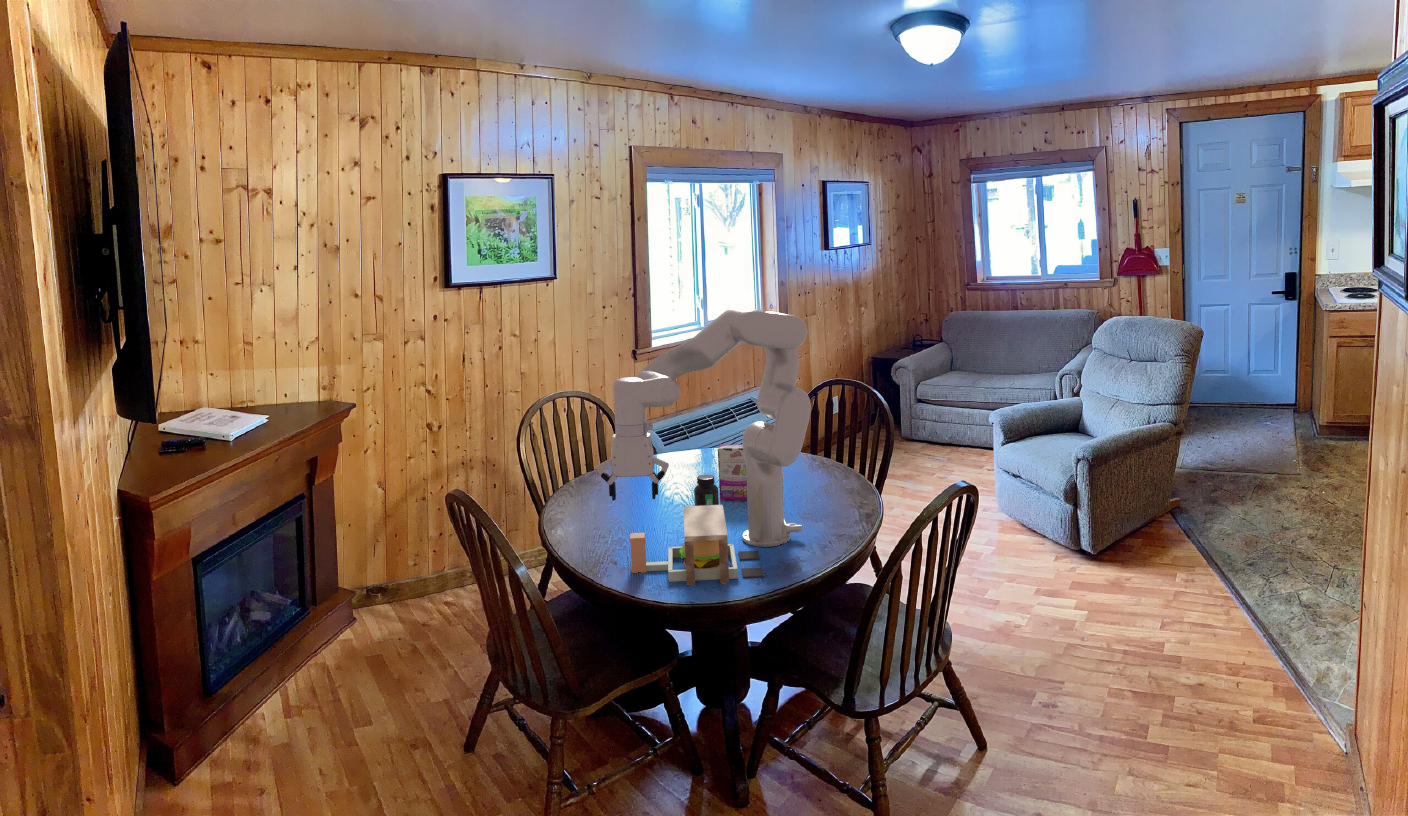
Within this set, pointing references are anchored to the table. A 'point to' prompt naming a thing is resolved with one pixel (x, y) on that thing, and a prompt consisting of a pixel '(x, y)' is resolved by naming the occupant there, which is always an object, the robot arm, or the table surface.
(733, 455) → the candy bar box
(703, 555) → the hamburger
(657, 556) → the table surface
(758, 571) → the pit square
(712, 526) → the tunnel
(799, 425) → the robot arm
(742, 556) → the pit square
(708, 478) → the supplement bottle
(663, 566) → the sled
